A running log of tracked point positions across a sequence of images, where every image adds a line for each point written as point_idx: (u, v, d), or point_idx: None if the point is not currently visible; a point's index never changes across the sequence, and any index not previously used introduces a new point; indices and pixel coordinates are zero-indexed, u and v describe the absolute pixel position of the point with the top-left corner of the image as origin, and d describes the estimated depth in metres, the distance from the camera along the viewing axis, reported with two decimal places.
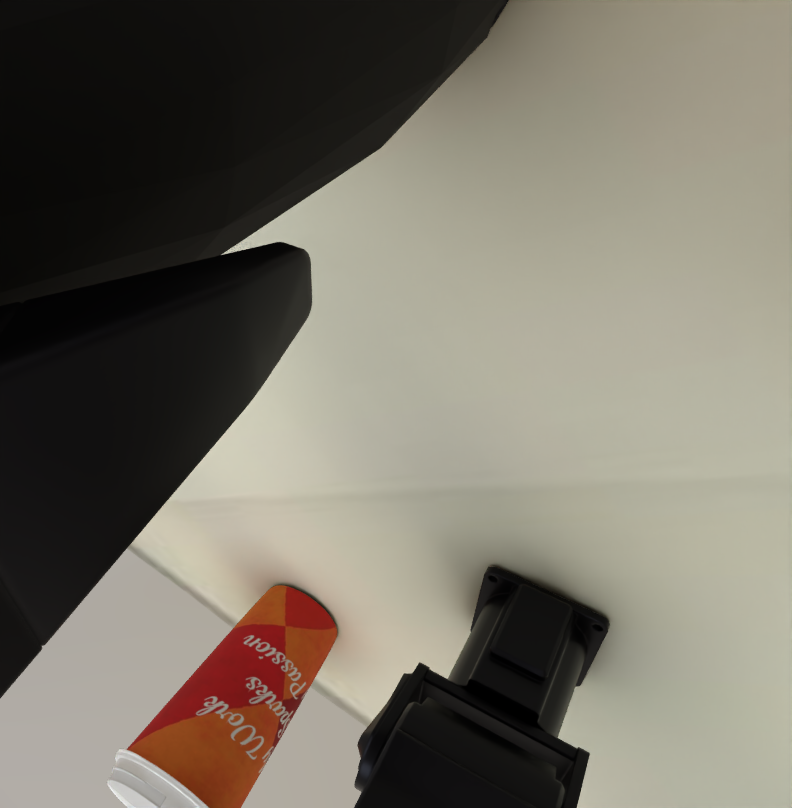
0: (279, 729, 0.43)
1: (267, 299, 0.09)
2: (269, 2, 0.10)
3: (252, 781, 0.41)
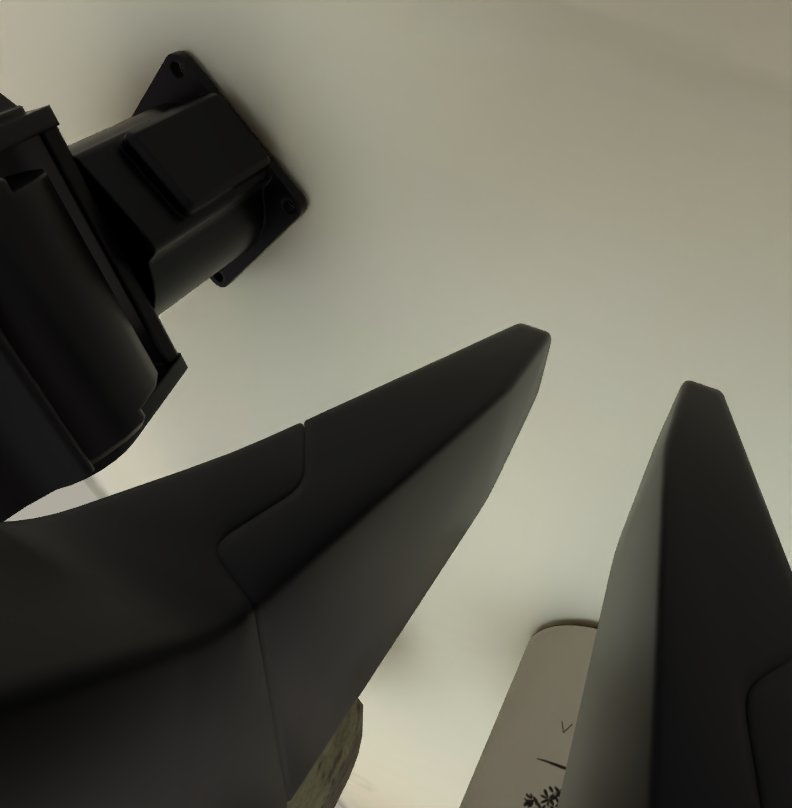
0: None
1: (521, 393, 0.08)
2: None
3: None
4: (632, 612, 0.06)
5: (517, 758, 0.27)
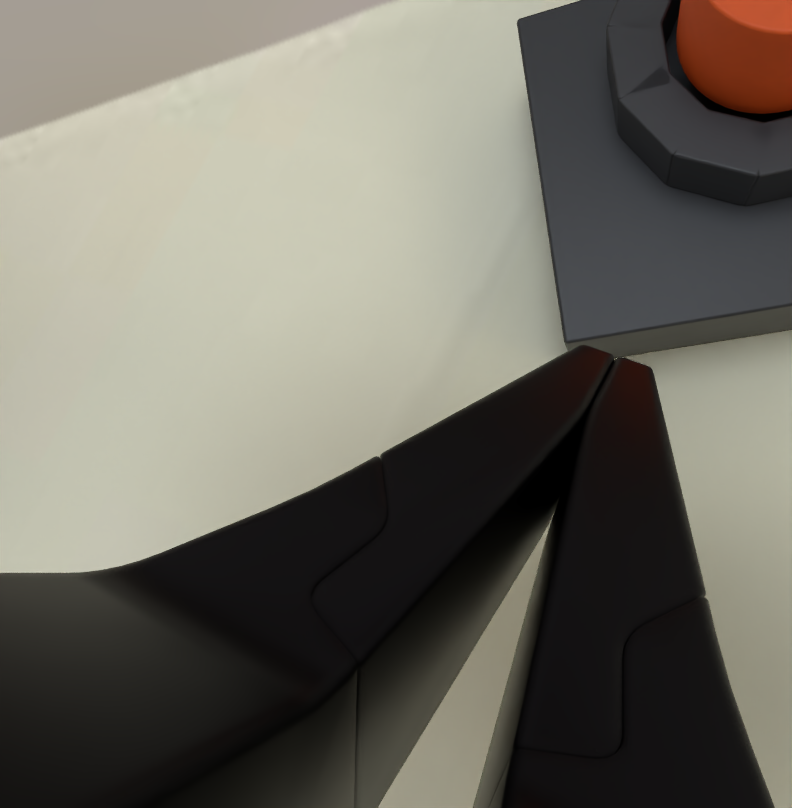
0: None
1: None
2: None
3: None
4: (544, 573, 0.06)
5: None
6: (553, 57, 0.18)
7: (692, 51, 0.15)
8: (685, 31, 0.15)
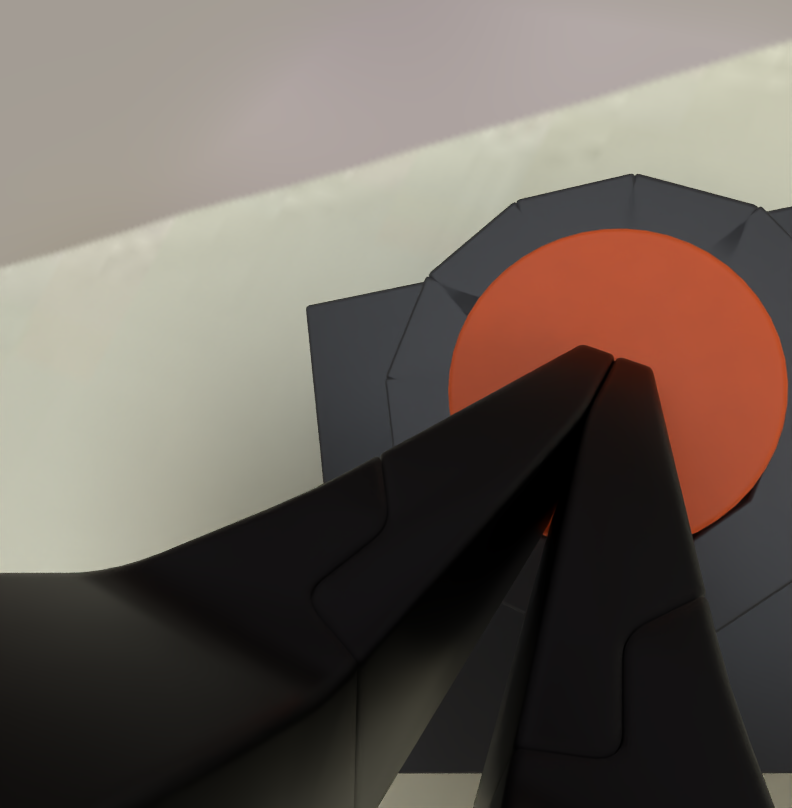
0: None
1: None
2: None
3: None
4: (544, 572, 0.06)
5: None
6: (348, 365, 0.14)
7: None
8: None
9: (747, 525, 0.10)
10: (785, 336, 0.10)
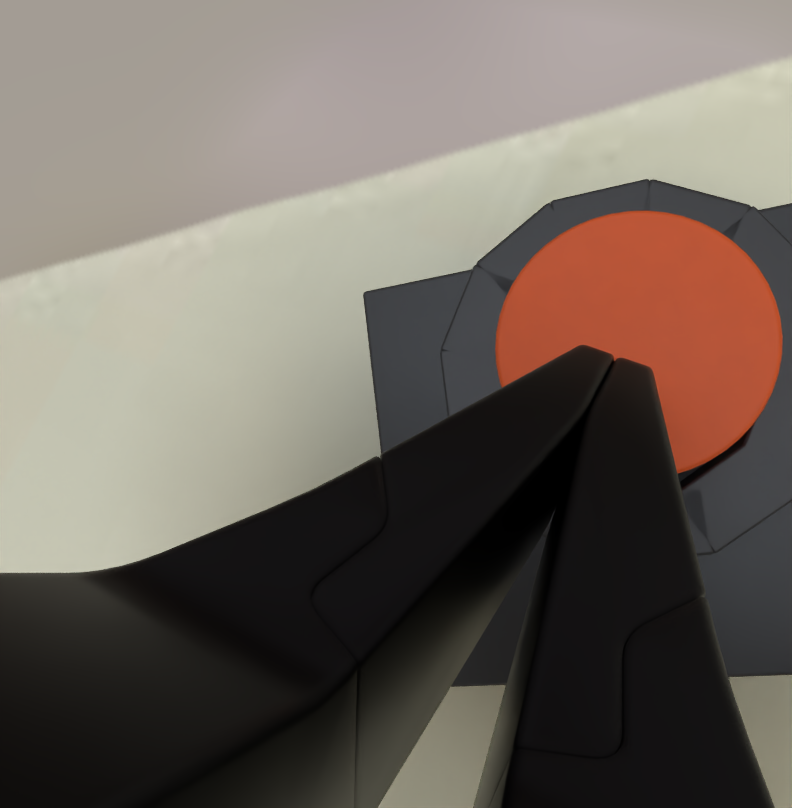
0: None
1: None
2: None
3: None
4: (544, 572, 0.06)
5: None
6: (401, 342, 0.16)
7: None
8: None
9: (742, 465, 0.12)
10: None
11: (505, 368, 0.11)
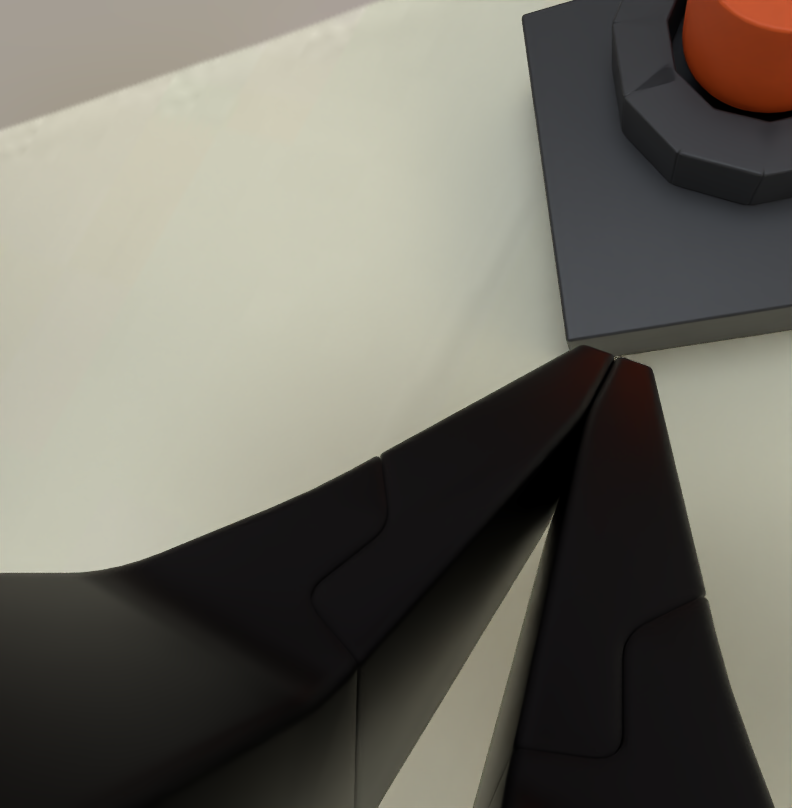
0: None
1: None
2: None
3: None
4: (545, 573, 0.06)
5: None
6: (558, 53, 0.18)
7: (698, 49, 0.15)
8: (692, 29, 0.15)
9: None
10: None
11: None
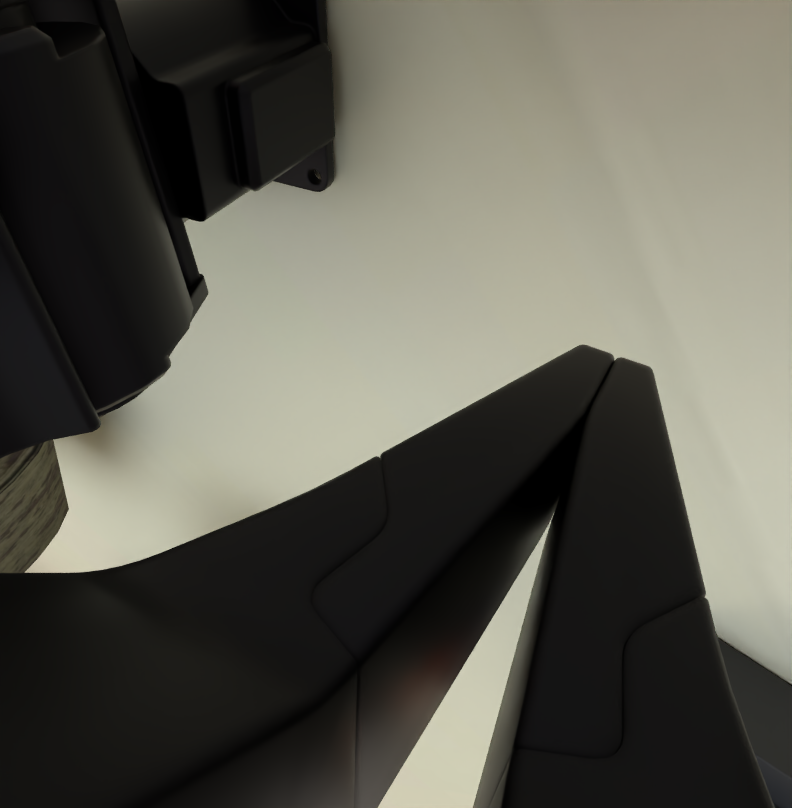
0: None
1: None
2: None
3: None
4: (544, 572, 0.06)
5: None
6: None
7: None
8: None
9: None
10: None
11: None
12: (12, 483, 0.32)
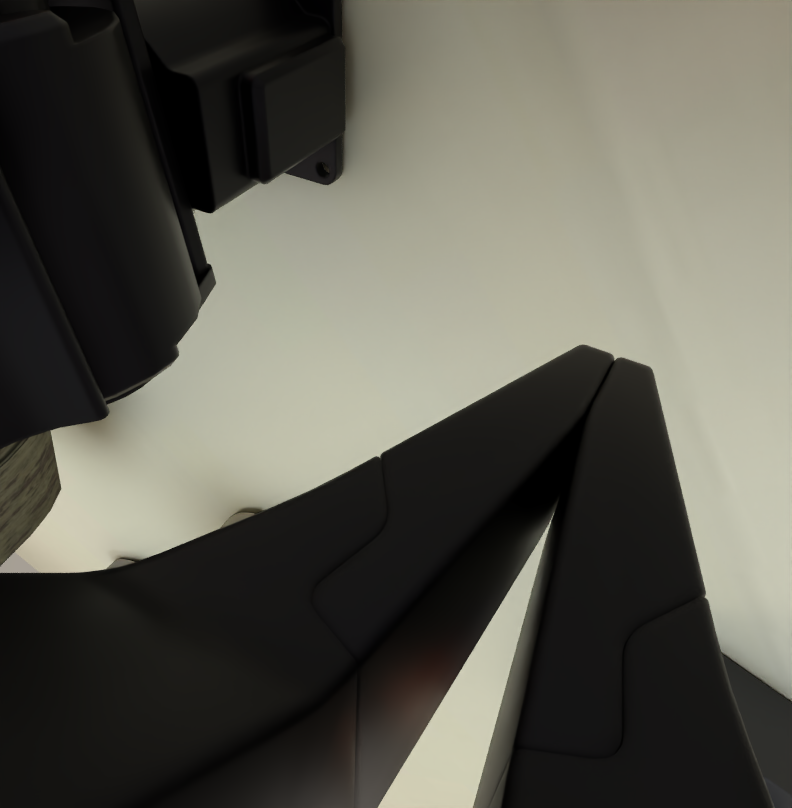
0: None
1: None
2: None
3: None
4: (544, 572, 0.06)
5: None
6: None
7: None
8: None
9: None
10: None
11: None
12: (7, 462, 0.32)
